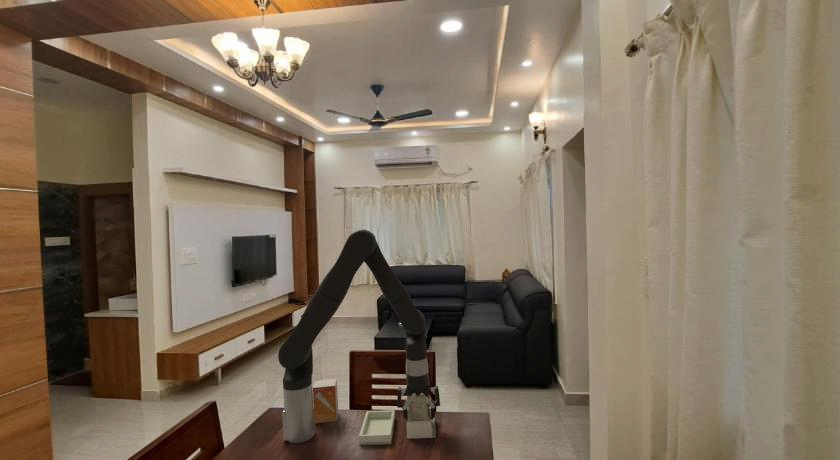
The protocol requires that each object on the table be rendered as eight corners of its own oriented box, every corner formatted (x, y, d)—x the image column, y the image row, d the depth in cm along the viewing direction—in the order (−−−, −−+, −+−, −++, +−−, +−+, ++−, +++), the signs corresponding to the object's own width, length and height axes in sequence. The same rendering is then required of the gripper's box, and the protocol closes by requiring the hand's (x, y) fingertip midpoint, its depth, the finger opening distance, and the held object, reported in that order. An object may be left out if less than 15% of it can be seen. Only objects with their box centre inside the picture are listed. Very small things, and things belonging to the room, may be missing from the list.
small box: (314, 424, 137) (312, 387, 137) (316, 415, 144) (314, 380, 143) (337, 421, 138) (335, 385, 138) (338, 412, 145) (336, 378, 144)
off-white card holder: (407, 438, 125) (406, 423, 125) (408, 421, 136) (408, 407, 136) (435, 437, 125) (435, 422, 125) (435, 420, 136) (434, 406, 135)
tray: (359, 445, 123) (358, 436, 123) (367, 419, 139) (366, 411, 139) (391, 444, 123) (390, 434, 123) (395, 418, 139) (394, 410, 139)
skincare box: (431, 428, 131) (429, 392, 131) (426, 434, 127) (424, 397, 127) (414, 424, 134) (412, 389, 133) (408, 431, 130) (406, 394, 130)
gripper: (394, 376, 126) (397, 425, 127) (438, 374, 126) (441, 423, 127) (396, 367, 134) (399, 413, 134) (438, 365, 134) (440, 412, 134)
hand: (419, 418), depth 130 cm, fingers open, 8 cm apart
